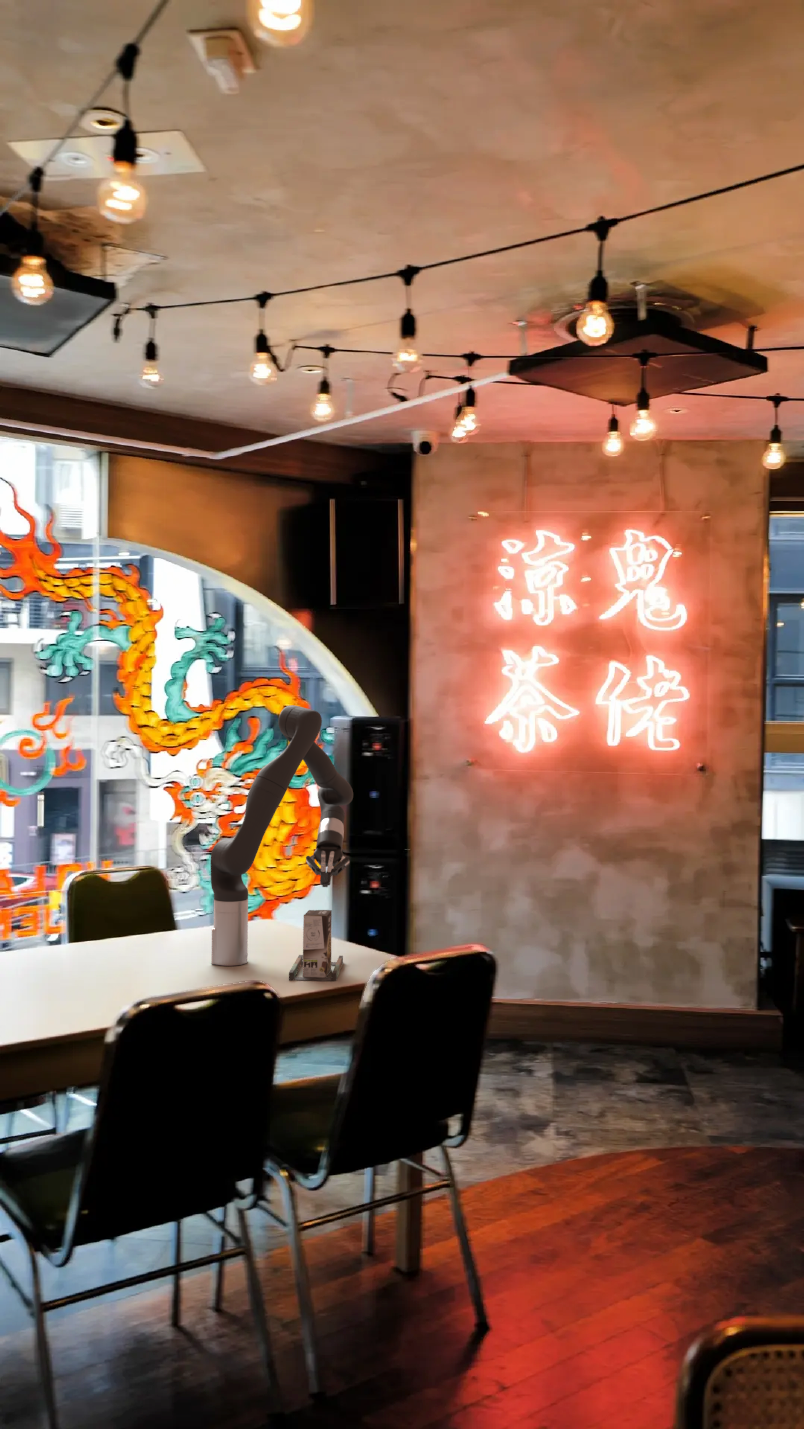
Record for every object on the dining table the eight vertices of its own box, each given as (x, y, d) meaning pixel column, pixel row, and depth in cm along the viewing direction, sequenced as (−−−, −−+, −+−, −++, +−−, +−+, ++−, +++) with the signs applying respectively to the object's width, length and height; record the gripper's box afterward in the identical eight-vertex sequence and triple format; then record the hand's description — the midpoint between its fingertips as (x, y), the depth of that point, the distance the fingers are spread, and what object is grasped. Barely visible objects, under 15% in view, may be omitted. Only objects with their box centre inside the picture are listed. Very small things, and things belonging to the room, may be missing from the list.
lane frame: (288, 980, 287) (288, 972, 287) (299, 962, 308) (299, 954, 308) (335, 981, 287) (335, 973, 287) (342, 962, 308) (342, 955, 308)
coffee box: (326, 978, 290) (327, 915, 290) (301, 977, 291) (302, 914, 291) (332, 970, 299) (332, 909, 299) (308, 969, 300) (308, 908, 300)
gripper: (306, 828, 326) (300, 876, 314) (352, 829, 326) (347, 878, 313) (308, 844, 331) (302, 892, 319) (353, 846, 331) (349, 894, 319)
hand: (324, 885), depth 316 cm, fingers closed
